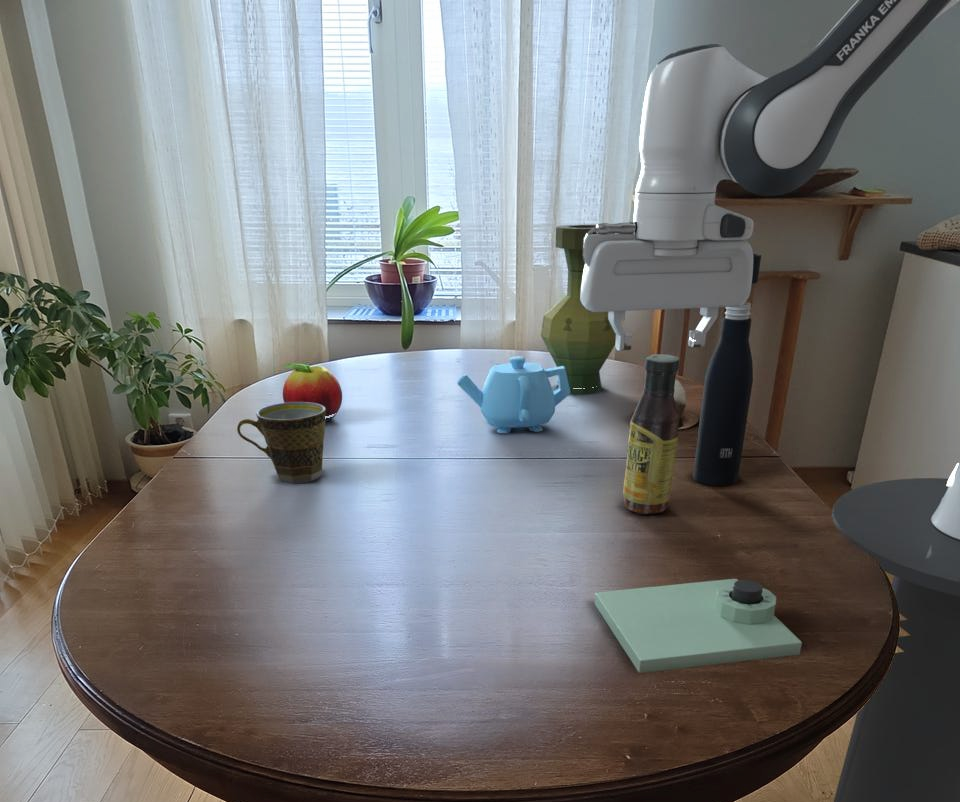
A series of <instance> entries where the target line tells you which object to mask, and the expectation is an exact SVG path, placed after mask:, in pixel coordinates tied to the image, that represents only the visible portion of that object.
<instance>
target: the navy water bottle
mask: <svg viewBox="0 0 960 802" xmlns="http://www.w3.org/2000/svg"><path fill="white" fill-rule="evenodd" d="M761 260H762V255H761V254H758V253H753V275H752V285H753V284H757V283H758V281H759V273H760V267H761V262H762V261H761ZM752 285H751V287H752ZM751 291H752V290H751ZM751 291H750V294H751ZM750 299H751V295H750V296H749V298H748V299H747V301H749V300H750ZM747 301H746V302H745V303H744V304H743V305H742V306H740V307H724V308H725V309H726V311H725V312H724V315H725V316H724V317H723V318H722V319H721V328H720V334H719V340H718V342H717V344H716V346H715V349H714V351H713V352H712V355H711V358H710V360H709V363H708V367H707V369H706V372H705V377H704V381H703V390H702V397H701V398H702V399H701V408H700V415H699V424H698V433H697V441H696V448H695V456H694V464H693V473H692V477H693V480H694V481H696V482H697V483H699V484H703V485H706V486H712V487H713V486H714V487H725V486H726V487H727V486H732V485H734V484H737V482H738V480H739V475H740V469H741V463H742V462H741V461H742V456H743V449H744V444H745V443H744V442H745V435H746V430H747V429H746V428H747V422H748V415H749V409H750V403H751V397H752V388H753V383H754V369H753V368H754V366H753V365H754V364H753V357H752V356H753V355H752V352H751V347H750V334H751V326H752V318H751V317H750V316H751V314H752V312H751V310H752V303H751V302H747Z"/></svg>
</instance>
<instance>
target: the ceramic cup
mask: <svg viewBox="0 0 960 802" xmlns="http://www.w3.org/2000/svg"><path fill="white" fill-rule="evenodd" d="M255 415H256V418H257V420H254V419H250V418H244V419H241V420H240V421H238V424H237V427H236V432H237V434H238V435H239V436H240V438H242V439H243V440H244V441H246V442H248V443H250V444H252V445H253V446H255V447H256V448H257V449H259V451H262V452H263V453H264V454H266V456H267V457H268V458H269V459H270V460H271V462H272V464H273V467H274V469H275V473H276V475H277V478H278V481H279V482H283V483H287V484H288V483H289V484H301V483H310V482H313V481H314V480H317V479H318V478H321V477H322V476H323V460H324V458H323V457H324V440H325V432H326V422H325V416H326V410H325V407H324V406H322V405H320V404H316V403H310V402H289V403H284V402H281V403H275V404H271V405H267V406H264V407H262V408H259V409H258V410H257V411H256V412H255ZM246 424H249V425H252V427H255V428H256V429H257V431H258V432H259V433H260V434H261V435H262V436H263V438H264V441H265V444H266V447H262V446H260V445H259V444H258V443H257V442H255V441H254V440H252V439H250V438H249V437H247V436H245V435H243V434H242V432H241V427H242V426H243V425H246Z"/></svg>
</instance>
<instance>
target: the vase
mask: <svg viewBox="0 0 960 802" xmlns="http://www.w3.org/2000/svg"><path fill="white" fill-rule="evenodd" d="M597 224H598V223H597ZM597 224H596V223H595V224H591V223H590V224H589V223H588V224H565V225H557V226H556V227H555V244H554V245H555V248H557V249H562V250H563V252H564V256H565V262H566V267H567V283H566V284H567V285H566V286H567V287H566V288H567V289H566V290H567V291H566V295H565V296H564V297H562V298H561V299H560V300H559V301H557V303H556V304H554V305H553V306H552V307H551V308H550V309H548V311H546V312H545V314H544V315H543V317H542V324H541V332H540V336H541V340H542V341H543V343H544V344H545V346H546V348H547V350H548V353H549V354H550V356H551V358H552V360H553V362H554V364H555V367H560V366H564V367H565V370H566V374H567V379H568V383H569V388H570V392H571V394H572V395H573V394H574V395H585V394H586V395H588V394H594V393H595V394H596V393H598V392H601V391H602V382H601V373H600V371H601V369H602V368H603V366H604V364H605V363H606V361H607V359H608V357H609V356H610V355H611V353H612V351H613V349H614V348H615V342H616V333H615V332H614V330H613V328H612V326H611V324H610V322H609V319H608V313H609V312H592V311H589V310H587V309H586V308H585V307H584V306H583V304H582V303H581V300H580V293H581V285H582V278H583V272H584V267H585V262H584V259H583V242H584V238H585V236H586V234H587V233H588V232H589V231H590V230H591V229H593V228H595V227H596V226H597ZM592 234H597V232H596V231H595V232H593V233H592ZM609 234H616V233H609ZM620 323H621V324H622V321H620ZM557 383H558V381H557V382H556V388H555V390H557V389H558V388H559V385H557ZM596 386H597V387H596ZM592 387H594V388H592ZM573 388H582V389H573ZM583 388H585V389H583ZM571 394H570V395H571Z"/></svg>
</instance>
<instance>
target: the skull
mask: <svg viewBox="0 0 960 802" xmlns="http://www.w3.org/2000/svg"><path fill="white" fill-rule="evenodd" d="M674 389H675V391H674V400H675V402H676V404H677V406H678V409H679V412H680V420H679V427H678V430H682V429H687V428H690V427H693V426H695V425H696V424H697V423H698V422H699V418H698V416H697V415H696V414H694V413H693V412H691V411H688V410H686V409H685V408H686V406H687V394H686V391H685V388H684V387H683V385H682V383H681V382H680V381H679V380H678V379H677V378H675V386H674ZM634 412H635V410H634V411H633V412H631V414H630V415H629V419H630V420H631V419H632V417H633V414H634Z"/></svg>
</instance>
